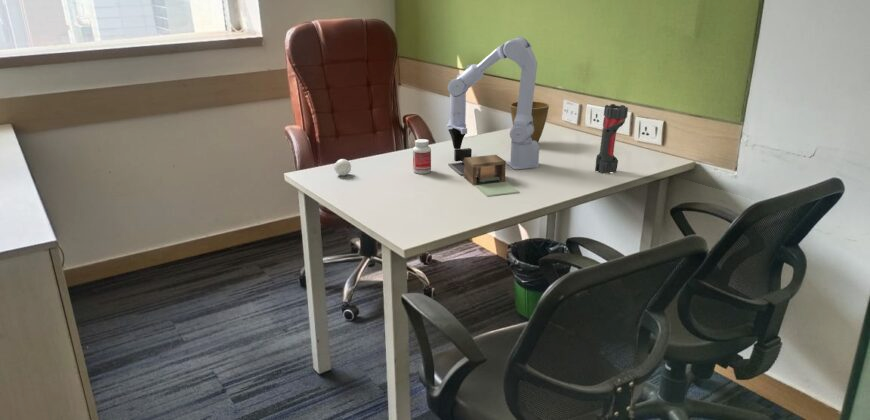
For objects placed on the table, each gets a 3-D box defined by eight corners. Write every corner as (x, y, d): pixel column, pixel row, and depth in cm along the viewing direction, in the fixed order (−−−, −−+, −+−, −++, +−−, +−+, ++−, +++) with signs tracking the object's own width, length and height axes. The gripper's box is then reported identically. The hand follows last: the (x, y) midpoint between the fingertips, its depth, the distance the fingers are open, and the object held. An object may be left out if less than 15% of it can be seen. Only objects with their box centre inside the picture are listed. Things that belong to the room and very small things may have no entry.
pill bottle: (434, 172, 223) (434, 141, 219) (419, 175, 219) (419, 144, 215) (424, 168, 227) (424, 137, 223) (409, 170, 224) (409, 139, 220)
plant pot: (553, 143, 256) (556, 104, 251) (532, 151, 246) (535, 110, 240) (522, 137, 266) (524, 98, 260) (501, 144, 255) (502, 104, 249)
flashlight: (625, 172, 222) (632, 106, 214) (611, 176, 218) (618, 109, 209) (607, 166, 228) (613, 102, 220) (592, 171, 223) (598, 105, 215)
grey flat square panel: (479, 162, 234) (479, 160, 234) (493, 172, 222) (493, 170, 222) (448, 165, 230) (448, 163, 230) (461, 176, 219) (461, 174, 218)
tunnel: (495, 174, 220) (495, 154, 218) (505, 181, 213) (505, 161, 211) (464, 177, 217) (464, 157, 214) (472, 185, 210) (473, 164, 207)
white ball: (355, 175, 220) (354, 159, 218) (342, 178, 216) (341, 162, 214) (340, 170, 225) (339, 154, 223) (327, 174, 221) (326, 158, 219)
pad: (506, 182, 212) (506, 181, 212) (519, 192, 203) (519, 191, 203) (475, 186, 209) (475, 185, 209) (487, 196, 200) (487, 195, 200)
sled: (471, 158, 234) (471, 146, 233) (499, 179, 212) (500, 166, 210) (452, 160, 232) (453, 148, 231) (479, 181, 210) (480, 168, 208)
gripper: (440, 108, 237) (440, 144, 242) (454, 117, 224) (453, 154, 229) (458, 107, 239) (458, 142, 244) (473, 115, 226) (472, 153, 231)
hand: (457, 148), depth 237 cm, fingers closed
